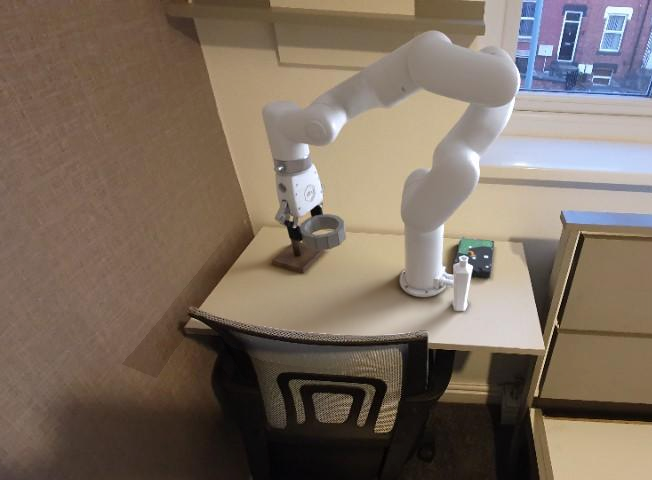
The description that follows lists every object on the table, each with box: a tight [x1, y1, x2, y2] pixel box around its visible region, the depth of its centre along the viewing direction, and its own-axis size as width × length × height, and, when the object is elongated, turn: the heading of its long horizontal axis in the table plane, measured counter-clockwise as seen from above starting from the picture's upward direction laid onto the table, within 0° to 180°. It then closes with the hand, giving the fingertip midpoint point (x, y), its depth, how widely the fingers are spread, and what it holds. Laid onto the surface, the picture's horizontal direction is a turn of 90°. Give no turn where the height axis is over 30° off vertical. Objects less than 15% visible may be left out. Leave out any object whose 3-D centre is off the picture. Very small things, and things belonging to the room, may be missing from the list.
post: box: [271, 239, 326, 274], centre depth 109 cm, size 10×10×9 cm
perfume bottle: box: [451, 255, 473, 312], centre depth 94 cm, size 5×4×15 cm
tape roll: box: [299, 213, 347, 251], centre depth 94 cm, size 10×10×4 cm
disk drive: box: [453, 236, 495, 279], centre depth 113 cm, size 10×3×15 cm
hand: (307, 229), depth 95 cm, fingers closed on tape roll, 8 cm apart
